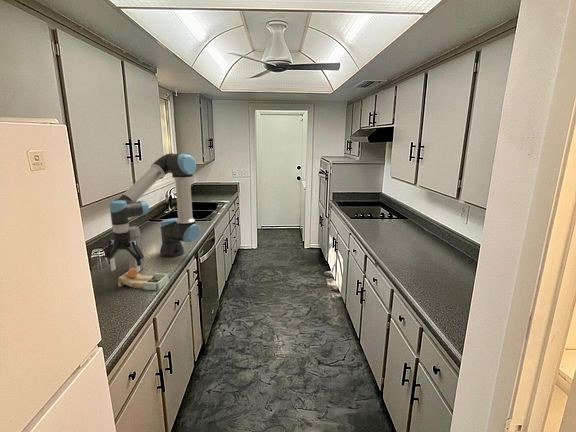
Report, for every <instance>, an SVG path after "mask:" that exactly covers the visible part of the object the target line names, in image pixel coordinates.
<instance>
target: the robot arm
mask: <svg viewBox="0 0 576 432" xmlns="http://www.w3.org/2000/svg"><path fill="white" fill-rule="evenodd" d="M196 170H197V163H196V159H194V157H193V156H192V155H190V154H186V153H171V152H170V153H166V154H164V155H162V156H160V157H159V158H158V159H156V160H155V161H154V162H153V163H152V164H151V165H150V168H149V169H148V170H147V171H146V172H145V173H144V174H143V175H142V176H141V177H139V178H138V180H136V181H135V182H134V183H133V184H132V185H131V186H130V187H129V188H128V189H127V190H126V191H125V192H124V193H122V194H121V195H120V197H119V198H113V199H111V200H110V201H109V204H108V207H109V212H110V219H111V227H112V232H113V233H112V237H113V238H111V239H110V240H108V242H107V243H108V245H107V248H106V250H105V254H104V256H103V257H104V258H107V259H108V264H109V265H110V270H111V272H114V271H115V270H116V269H117V268H116V258H115V257H114V256H115V254H116V253H117V252H118V251H119V250H125V251H127V252H128V251H129V252H130V253H131V255H132V256H133V257H134V258H135V259H136V260H135V267H136V272H138V273H140V272H141V270H140V265H141V259H142V258H143V259H144V258H145V254H144V253H143V254H142V252H141V250H140V248H139V247H138V245H137V241H136V240H135V241H130V231H129V227H130V223H129V221H130V219H131V218H135V217H139V216H140V217H141V216H143V215H148V213H149V210H150V206H149V203H148V202H147V201H146V200H140V198H141V197H143V196H144V194H146V192H147V191H148V190H149V189H151V188H152V186H154V185H155V183H156V182H158V181H159V180H160V179H161V178H164V177H165V176H166V175H168V174H171V177H172V178H173V179H174V181H175V195H176V206H177V207H176V208H177V217H172V218H166V219H163V220H161V221H160V236H161V237H160V238H161V245H160V246H161V247H160V250H159V255H160V256H161V257H164V258H176V257H179V256H182V255H184V254H185V247H184V245H183V243H182V242H184V243H194V242H195V241H197V240H198V238H199V236H200V235H201V234H200V233H201V228H200V226H199V225H198V224H196V219H195V218H194V217H193V216H194V215H193V201H192V187H191V186H192V185H191V179H192V178H193V174H194V173H195V172H196ZM130 244H131V245H132V246H131V245H130ZM114 245H115V246H114ZM128 247H129V248H128ZM132 247H133V248H134V249H133V248H132Z"/></svg>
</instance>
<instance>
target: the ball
mask: <svg viewBox="0 0 576 432" xmlns="http://www.w3.org/2000/svg"><path fill="white" fill-rule="evenodd" d="M138 273H139V272H136V268H131V269H130V268H129V269H128V270H127V274H128V276H129V277H131V278H134V277H136V276H137V275H138Z"/></svg>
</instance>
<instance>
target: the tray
mask: <svg viewBox="0 0 576 432" xmlns="http://www.w3.org/2000/svg"><path fill="white" fill-rule="evenodd" d="M153 276H154V277H155V280H154V281H157V282H143V288H142V289H143V290H148V291H150V290H151V291H159V290H161V288H162V287H164V286H165V285H166V284H167V283H168V282H169V281H170V273H158V272H157V273H156V272H155V273H154V274H153Z"/></svg>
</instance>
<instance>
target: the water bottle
mask: <svg viewBox="0 0 576 432" xmlns="http://www.w3.org/2000/svg"><path fill="white" fill-rule="evenodd" d="M129 231H130V241H135V240H136V241H137V245H138V247H139V248H140V250H141V252H142V254H143V255H144V257H147V254H146V250H145V246H144V244H142V243H144V241H143V235H142V234H141V231H140V227H139V226H137V225H136V226H129ZM130 245H131V244H130ZM131 246H132V245H131ZM128 248H129V247H128ZM132 248H133V247H132ZM133 249H134V248H133ZM127 254H128V262H129V265H128V266H129V269H131V268H136V267H135V260H136V259H135V258H134V257H133V256H132V255H131V253H130V252H129V251H127ZM146 260H147V259H144V258H142V259H141V265H140V271H142V270H143V269H144V262H147V261H146Z"/></svg>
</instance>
